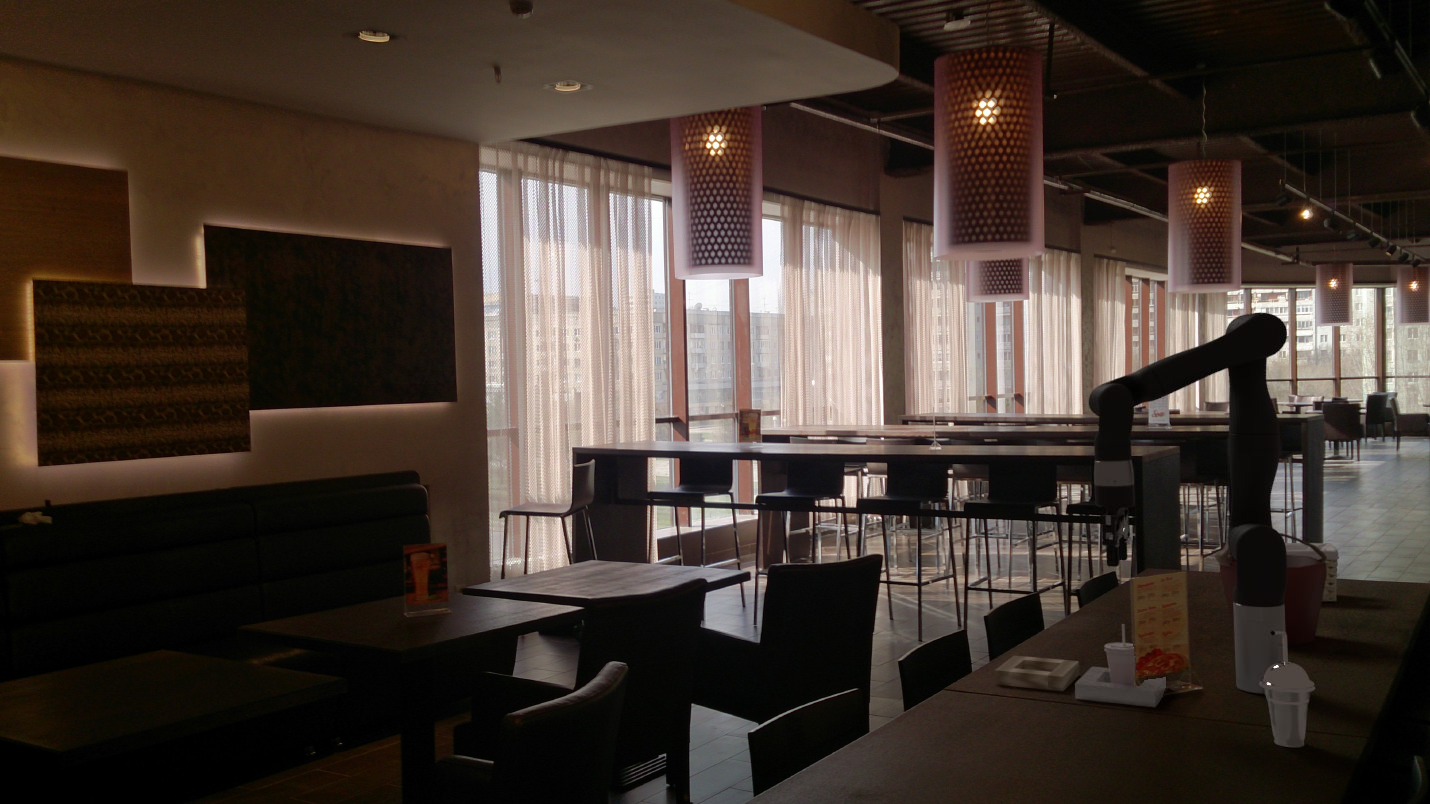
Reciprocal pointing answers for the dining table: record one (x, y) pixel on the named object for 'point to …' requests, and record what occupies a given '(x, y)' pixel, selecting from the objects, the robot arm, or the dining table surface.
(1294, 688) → the cup with straw
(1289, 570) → the bucket
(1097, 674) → the ring
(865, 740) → the dining table surface
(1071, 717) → the dining table surface
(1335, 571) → the storage basket
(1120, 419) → the robot arm
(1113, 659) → the smoothie
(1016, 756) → the dining table surface
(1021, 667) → the socket block
